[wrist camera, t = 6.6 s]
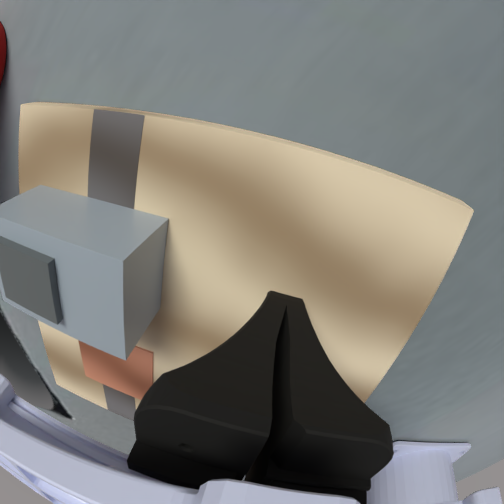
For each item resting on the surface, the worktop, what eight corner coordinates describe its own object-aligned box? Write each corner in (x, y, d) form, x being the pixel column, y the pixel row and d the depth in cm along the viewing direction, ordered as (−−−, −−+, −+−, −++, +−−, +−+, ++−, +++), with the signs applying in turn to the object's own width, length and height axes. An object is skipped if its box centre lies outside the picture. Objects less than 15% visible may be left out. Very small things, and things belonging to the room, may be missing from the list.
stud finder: (160, 308, 14) (121, 367, 11) (46, 264, 15) (-2, 305, 11) (168, 218, 12) (116, 267, 9) (40, 184, 13) (-21, 215, 9)
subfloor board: (309, 455, 20) (308, 469, 19) (64, 374, 21) (56, 385, 20) (461, 200, 11) (475, 211, 10) (37, 101, 12) (19, 104, 11)
